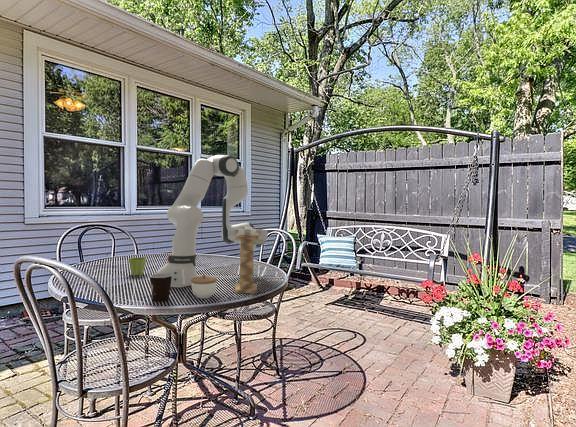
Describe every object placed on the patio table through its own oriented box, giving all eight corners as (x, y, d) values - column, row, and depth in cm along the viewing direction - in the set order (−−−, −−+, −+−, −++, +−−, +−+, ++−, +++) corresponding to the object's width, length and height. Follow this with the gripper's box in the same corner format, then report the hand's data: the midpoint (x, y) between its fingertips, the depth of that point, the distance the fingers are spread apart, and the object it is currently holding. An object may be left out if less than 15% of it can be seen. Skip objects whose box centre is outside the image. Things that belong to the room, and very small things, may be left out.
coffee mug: (169, 302, 146) (170, 277, 146) (147, 302, 145) (147, 277, 145) (174, 294, 158) (174, 271, 158) (153, 295, 157) (153, 272, 156)
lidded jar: (201, 292, 163) (202, 271, 163) (221, 295, 159) (221, 274, 158) (185, 297, 154) (185, 275, 153) (206, 301, 149) (206, 278, 149)
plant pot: (123, 275, 194) (124, 259, 193) (136, 272, 203) (136, 256, 202) (138, 277, 191) (138, 260, 191) (150, 273, 200) (150, 258, 200)
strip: (238, 234, 165) (238, 229, 165) (239, 231, 185) (239, 226, 185) (256, 235, 166) (256, 229, 166) (255, 231, 185) (255, 226, 185)
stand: (234, 293, 163) (236, 235, 162) (235, 286, 175) (237, 232, 175) (257, 293, 164) (258, 235, 163) (256, 286, 176) (257, 233, 176)
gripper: (228, 233, 194) (227, 222, 182) (266, 234, 196) (267, 223, 184) (227, 244, 191) (226, 234, 179) (266, 245, 193) (268, 234, 181)
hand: (247, 228), depth 181 cm, fingers closed on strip, 3 cm apart
